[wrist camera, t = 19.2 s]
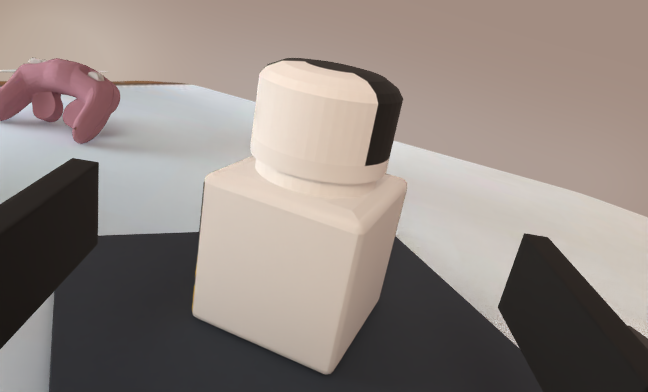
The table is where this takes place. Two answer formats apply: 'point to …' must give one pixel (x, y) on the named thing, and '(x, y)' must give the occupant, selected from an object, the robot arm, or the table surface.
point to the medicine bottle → (303, 214)
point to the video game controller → (45, 94)
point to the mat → (251, 359)
